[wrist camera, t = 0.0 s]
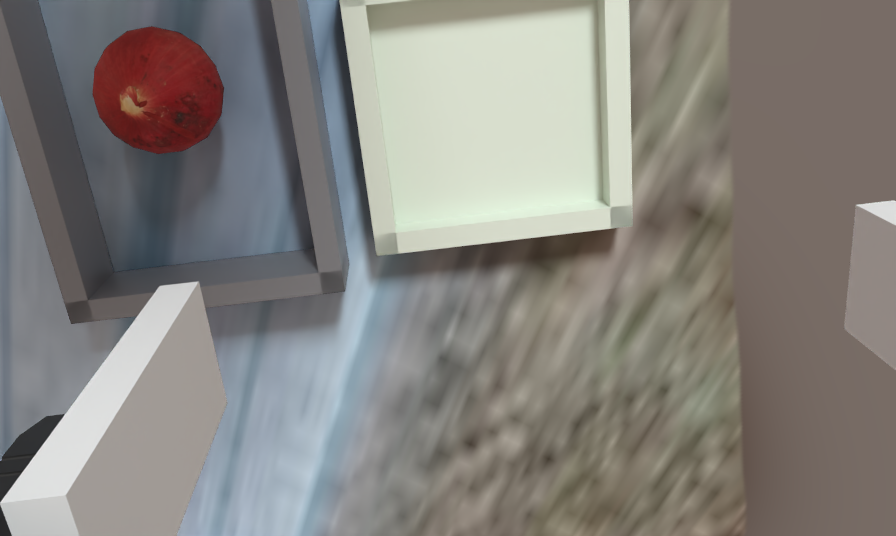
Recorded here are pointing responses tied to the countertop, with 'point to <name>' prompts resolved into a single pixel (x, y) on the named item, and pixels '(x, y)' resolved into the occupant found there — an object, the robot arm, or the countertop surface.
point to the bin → (73, 209)
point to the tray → (491, 118)
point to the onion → (157, 90)
